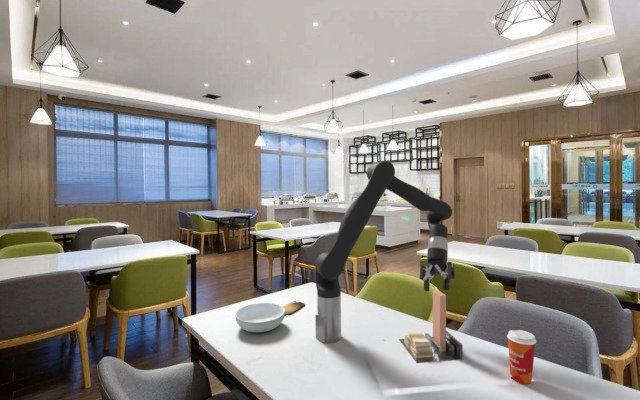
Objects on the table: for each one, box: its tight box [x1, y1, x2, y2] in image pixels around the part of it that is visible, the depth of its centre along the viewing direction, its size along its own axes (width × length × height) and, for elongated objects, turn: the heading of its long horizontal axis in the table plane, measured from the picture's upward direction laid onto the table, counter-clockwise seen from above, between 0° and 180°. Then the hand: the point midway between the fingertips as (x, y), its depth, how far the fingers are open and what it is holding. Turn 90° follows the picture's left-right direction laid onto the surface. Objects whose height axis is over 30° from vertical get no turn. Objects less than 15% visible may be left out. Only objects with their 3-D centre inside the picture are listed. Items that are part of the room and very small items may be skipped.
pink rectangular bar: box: [432, 289, 447, 352], centre depth 119 cm, size 6×2×20 cm, turn 7°
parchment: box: [281, 300, 306, 317], centre depth 160 cm, size 25×10×1 cm, turn 146°
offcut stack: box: [403, 331, 433, 358], centre depth 118 cm, size 11×6×5 cm, turn 7°
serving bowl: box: [234, 302, 285, 333], centre depth 141 cm, size 21×21×7 cm
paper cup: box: [506, 329, 537, 385], centre depth 101 cm, size 8×8×14 cm
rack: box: [398, 330, 464, 364], centre depth 119 cm, size 17×16×6 cm
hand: (435, 290), depth 126 cm, fingers open, 8 cm apart
